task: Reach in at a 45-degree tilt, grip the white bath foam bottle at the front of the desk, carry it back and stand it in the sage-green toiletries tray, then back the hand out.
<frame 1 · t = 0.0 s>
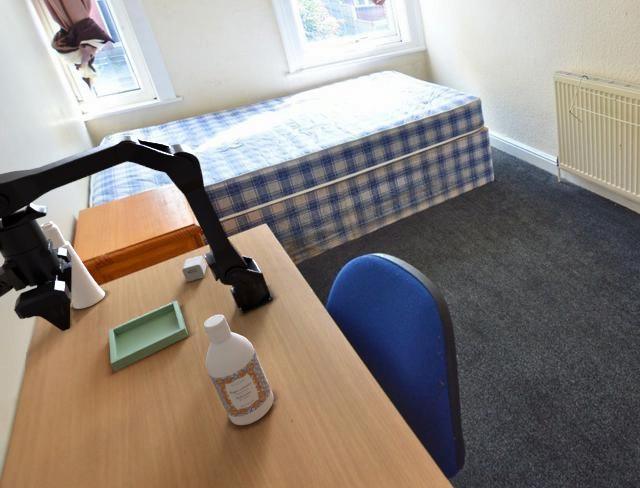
hand: (67, 316, 86), 15 cm above the table, tool pointing down, fingers open, 9 cm apart
bath foam: (253, 409, 82), on the table
usb wall charger: (198, 272, 121), on the table
cosmetic bottle: (90, 301, 114), on the table
toiletries tray: (150, 336, 100), on the table
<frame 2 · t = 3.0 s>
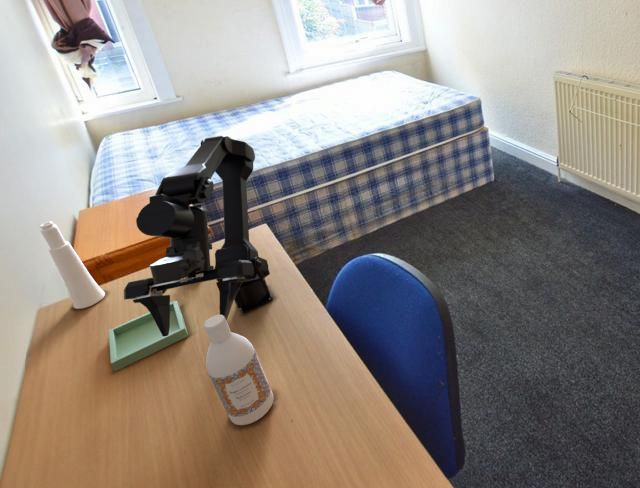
hand: (194, 329, 81), 14 cm above the table, tool tilted 35°, fingers open, 9 cm apart
nothing on the table moved.
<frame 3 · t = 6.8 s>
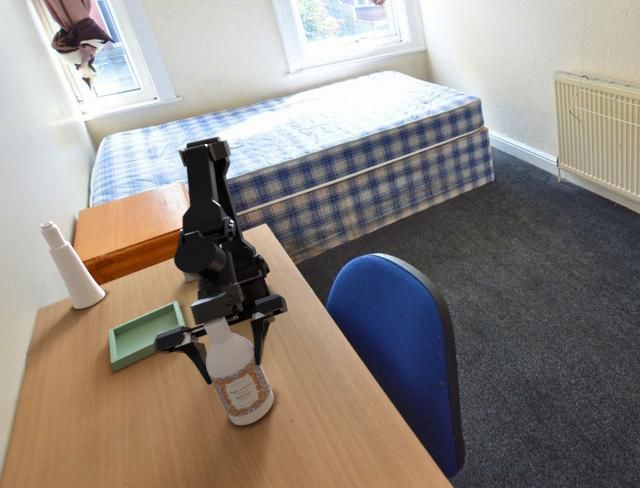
hand: (234, 374, 77), 10 cm above the table, tool tilted 45°, fingers closed on bath foam, 7 cm apart
bath foam: (253, 409, 82), on the table, touching gripper
everything else where it was.
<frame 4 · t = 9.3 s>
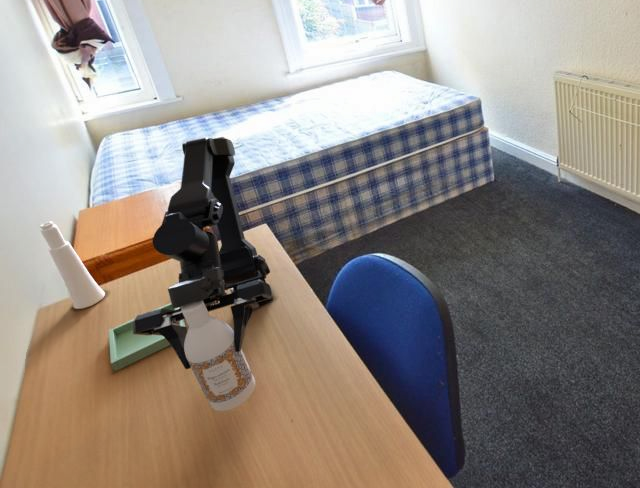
hand: (213, 360, 75), 13 cm above the table, tool tilted 45°, fingers closed on bath foam, 7 cm apart
bath foam: (234, 395, 80), point 4 cm above the table, touching gripper
everything else where it was.
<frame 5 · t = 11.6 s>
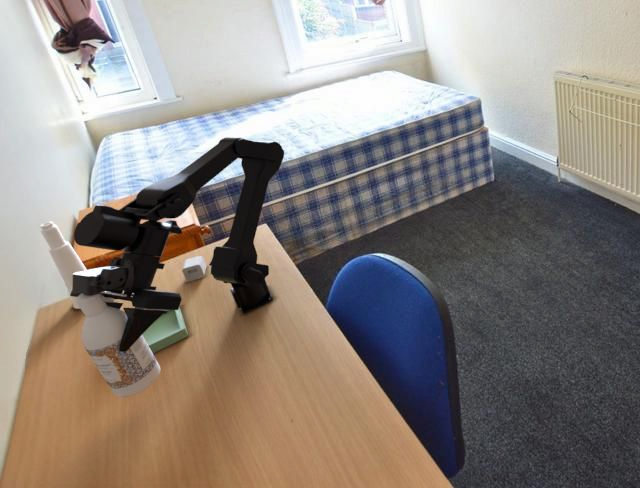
hand: (107, 348, 79), 14 cm above the table, tool tilted 45°, fingers closed on bath foam, 7 cm apart
bath foam: (139, 382, 84), point 4 cm above the table, touching gripper
everything else where it was.
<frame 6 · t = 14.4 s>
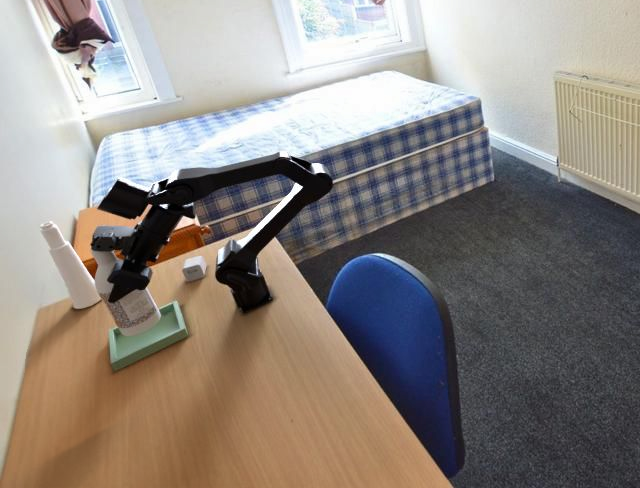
hand: (114, 291, 94), 13 cm above the table, tool tilted 45°, fingers closed on bath foam, 7 cm apart
bath foam: (142, 325, 98), point 4 cm above the table, touching gripper
everything else where it was.
when the fingers open (10 cm above the table, at t = 16.5 s): bath foam stays where it is, resting on toiletries tray.
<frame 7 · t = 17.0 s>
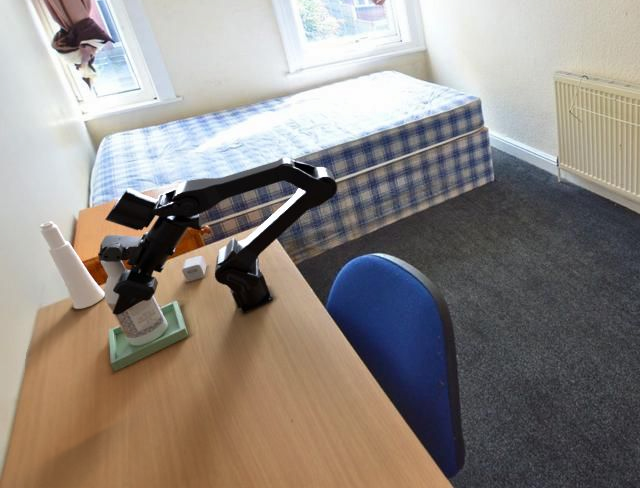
hand: (121, 300, 96), 11 cm above the table, tool tilted 45°, fingers open, 9 cm apart
bath foam: (150, 335, 100), resting on toiletries tray
everything else where it was.
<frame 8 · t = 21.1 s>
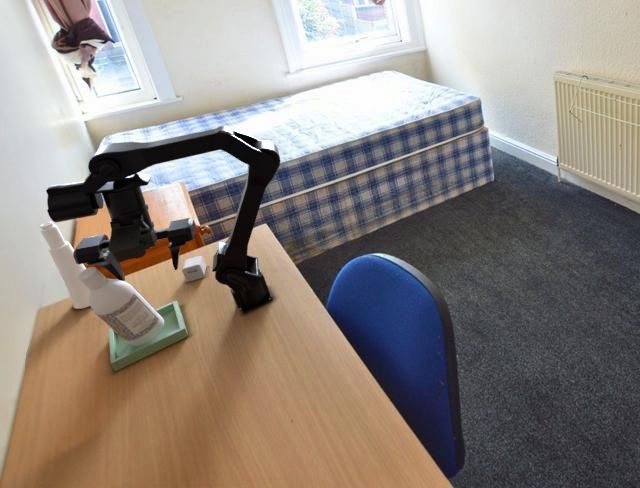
hand: (150, 274, 96), 14 cm above the table, tool pointing down, fingers open, 9 cm apart
bath foam: (147, 332, 100), point 1 cm above the table, touching gripper, toiletries tray
everything else where it was.
at the end: bath foam inside the target area in the toiletries tray (0.0 cm from its centre), point 1.2 cm above the toiletries tray's base; bath foam tilted 13°; the gripper is holding nothing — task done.
